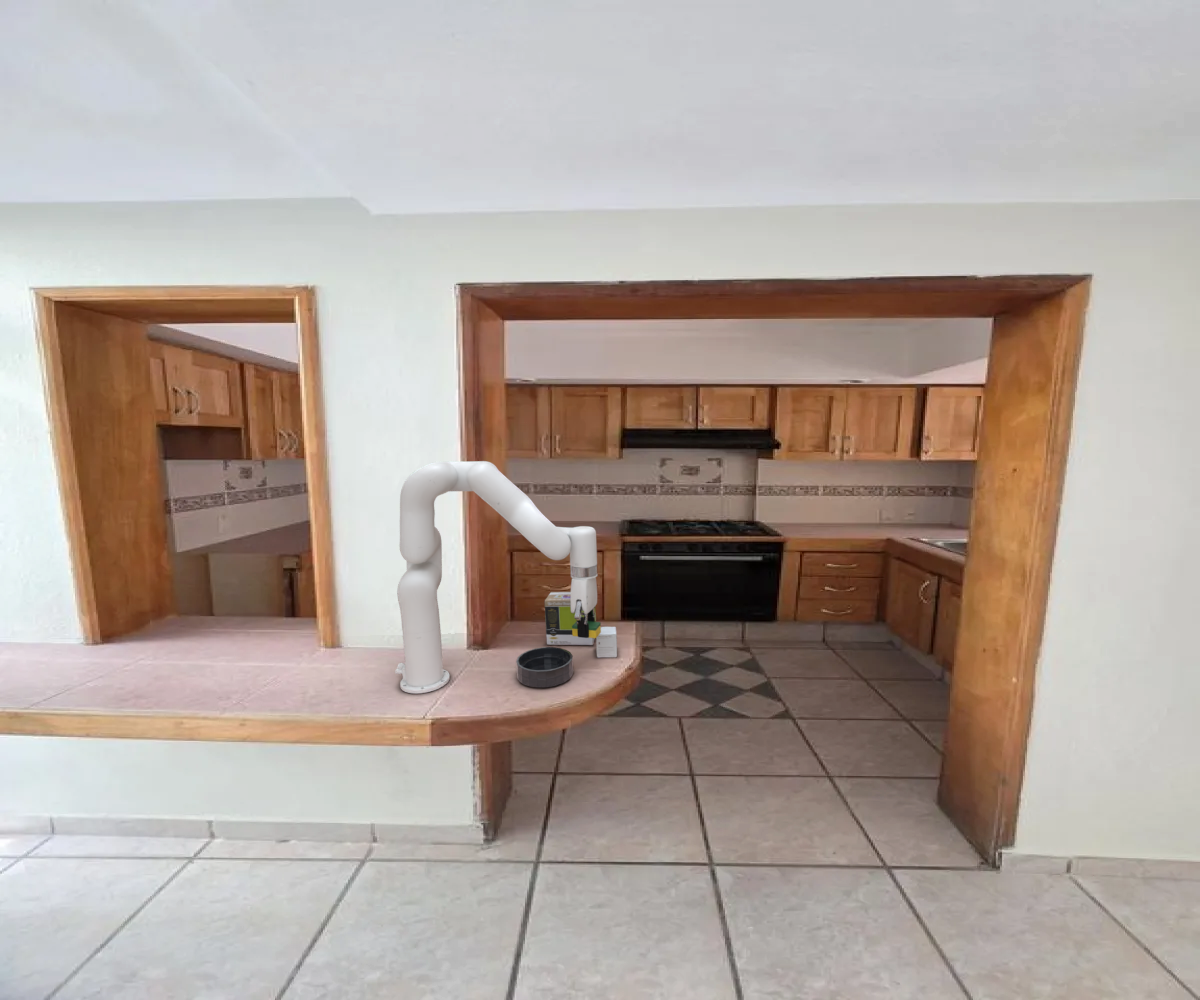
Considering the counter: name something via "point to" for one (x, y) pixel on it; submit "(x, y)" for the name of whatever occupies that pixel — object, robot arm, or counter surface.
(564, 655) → the bowl
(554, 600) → the tea box
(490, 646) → the counter surface
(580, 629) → the robot arm
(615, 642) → the product box
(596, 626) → the sponge
